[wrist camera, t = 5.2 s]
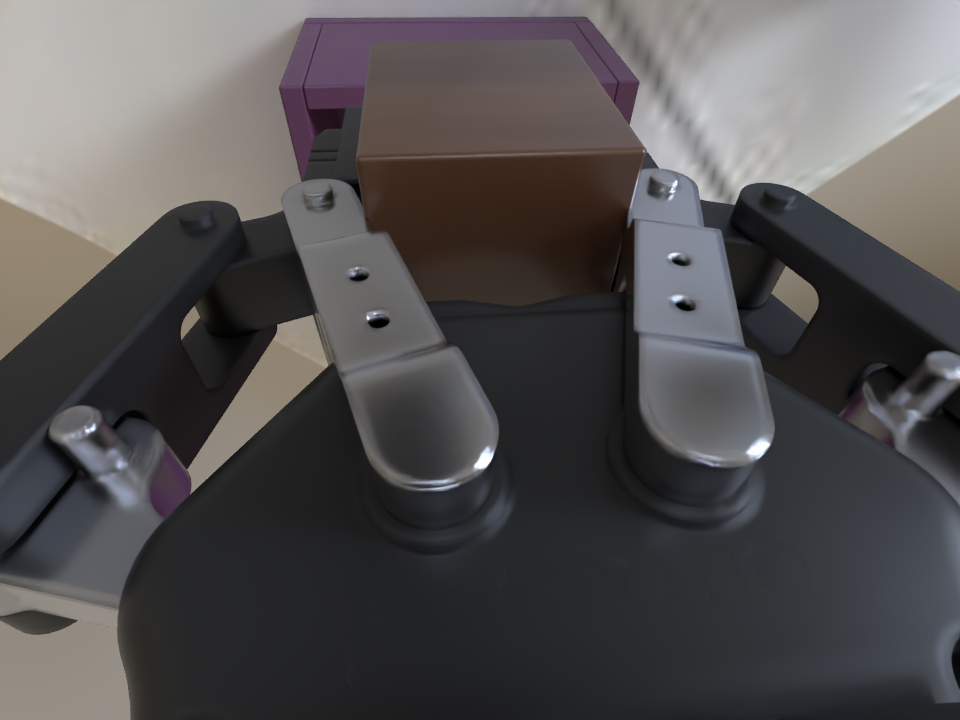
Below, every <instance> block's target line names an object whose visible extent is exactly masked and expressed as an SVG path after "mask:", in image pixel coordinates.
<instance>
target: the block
mask: <svg viewBox="0 0 960 720" xmlns="http://www.w3.org/2000/svg"><path fill="white" fill-rule="evenodd" d="M645 154H646V151H645V147H644V146H643V144H642V143H641V142H640V140H639V139H638V137H637V136H636V134H635V133H634V131H633V130H632V129H631V127H630V126H629V124H628V123H627V121H626V120H625V118H624V117H623V116H622V114H621V113H620V111H619V110H618V108H617V107H616V105H615V104H614V103H613V101H612V100H611V98H610V97H609V95H608V94H607V92H606V91H605V90H604V88H603V87H602V85H601V84H600V82H599V81H598V79H597V78H596V77H595V75H594V74H593V72H592V71H591V69H590V68H589V66H588V65H587V64H586V62H585V61H584V59H583V58H582V56H581V55H580V53H579V52H578V51H577V49H576V48H575V46H574V45H573V43H572V42H571V41H570V40H495V41H402V42H373V43H371V45H370V52H369V59H368V67H367V75H366V83H365V91H364V99H363V107H362V114H361V122H360V130H359V138H358V146H357V154H356V166H357V173H358V179H359V185H360V192H361V198H362V204H363V211H364V216H365V217H366V218H369V220H370V222H371V224H372V226H373V228H374V229H375V230H377V229H382V228H385V229H386V230H387V232H388V234H389V235H390V237H391V239H392V241H393V243H394V245H395V247H396V248H397V250H398V252H399V254H400V256H401V258H402V259H403V261H404V263H405V265H406V267H407V269H408V270H409V272H410V274H411V276H412V278H413V280H414V281H415V283H416V285H417V287H418V289H419V291H420V293H421V294H422V296H423V298H424V300H425V302H428V301H448V300H467V301H475V302H484V303H492V304H500V305H509V306H525V305H529V304H533V303H538V302H542V301H546V300H550V299H554V298H558V297H563V296H567V295H571V294H585V293H605V292H611V288H612V284H613V280H614V276H615V272H616V269H617V265H618V261H619V257H620V253H621V246H622V230H623V226H624V222H625V218H626V214H627V210H628V209H630V208H632V205H633V201H634V197H635V193H636V189H637V185H638V181H639V177H640V174H641V170H642V166H643V162H644V158H645Z"/></svg>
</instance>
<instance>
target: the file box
mask: <svg viewBox="0 0 960 720" xmlns="http://www.w3.org/2000/svg"><path fill="white" fill-rule="evenodd" d="M495 40H570V41H571V42H572V43H573V45H574V46H575V48H576V49H577V51H578V52H579V53H580V55H581V56H582V58H583V59H584V61H585V62H586V64H587V65H588V66H589V68H590V69H591V71H592V72H593V74H594V75H595V77H596V78H597V79H598V81H599V82H600V84H601V85H602V87H603V88H604V90H605V91H606V92H607V94H608V95H609V97H610V98H611V100H612V101H613V103H614V104H615V105H616V107H617V108H618V110H619V111H620V113H621V114H622V116H623V117H624V118H625V120H626V121H627V123H628V124H629V125H630V121H631V117H632V112H633V108H634V104H635V99H636V95H637V90H638V86H639V80H638V79H637V78H636V77H635V75H634V74H633V73H632V72H631V70H630V69H629V68H628V67H627V65H626V64H625V63H624V62H623V60H622V59H621V58H620V57H619V56H618V54H617V53H616V52H615V51H614V49H613V48H612V47H611V46H610V44H609V43H608V42H607V41H606V39H605V38H604V37H603V36H602V35H601V33H600V32H599V31H598V30H597V28H596V27H595V26H594V25H593V23H592V22H591V21H590V20H589V19H588V18H587V17H471V18H307V19H305V22H304V25H303V27H302V30H301V32H300V35H299V37H298V40H297V42H296V45H295V48H294V50H293V53H292V55H291V58H290V60H289V63H288V66H287V68H286V71H285V73H284V76H283V78H282V81H281V84H280V86H279V90H280V94H281V99H282V103H283V107H284V111H285V115H286V119H287V123H288V128H289V132H290V136H291V140H292V144H293V148H294V152H295V157H296V161H297V165H298V169H299V173H300V177H301V181H302V182H303V179H304V175H305V172H306V168H307V164H308V162H309V156H310V153H311V148H312V144H313V140H314V139H315V138H316V137H317V136H318V135H319V134H320V133H322V132H323V131H324V130H325V129H342V126H343V121H344V115H345V109H346V107H353V106H363V99H364V91H365V83H366V75H367V67H368V59H369V52H370V45H371V43H373V42H402V41H495Z"/></svg>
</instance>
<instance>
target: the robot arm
mask: <svg viewBox="0 0 960 720" xmlns="http://www.w3.org/2000/svg"><path fill="white" fill-rule="evenodd" d="M362 107H363V106H353V107H346V109H345V115H344V121H343V126H342V129H325V130H324V131H323V132H322V133H320V134H319V135H318V136H317V137H316V138H315V139H314V140H313V144H312V148H311V153H310V156H309V162H308V164H307V168H306V172H305V175H304V179H303V182H301V183H298V184H296V185H294V186H292V187H290V188H289V189H288V190H286V191H285V192H284V194H283V195H282V198H281V203H282V207H283V211H281V212H279V213H276V214H273V215H270V216H267V217H262V218H258V219H253V220H249V221H244V222H241V220H240V217H239V214H238V211H237V210H236V208H235V207H233V206H232V205H230V204H228V203H225V202H220V201H198V202H193V203H189V204H185V205H182V206H179V207H177V208H175V209H172V210H171V211H169V212H167V213H166V214H165V215H163V216H162V217H161V218H160V219H159V220H158V221H156V222H155V223H154V224H153V225H152V226H151V227H150V228H149V229H147V230H146V231H145V232H144V233H143V234H142V235H141V236H140V237H138V238H137V239H136V240H135V241H134V242H133V243H132V244H131V245H130V246H128V247H127V248H126V249H125V250H124V251H123V252H122V253H121V254H119V255H118V256H117V257H116V258H115V259H114V260H113V261H112V262H111V263H109V264H108V265H107V266H106V267H105V268H104V269H103V270H101V271H100V273H98V274H97V275H96V276H95V277H94V278H93V279H91V280H90V281H89V282H88V283H87V284H86V285H85V286H84V287H82V288H81V289H80V290H79V291H78V292H77V293H76V294H75V295H73V297H71V298H70V299H69V300H68V301H67V302H66V303H64V304H63V305H62V306H61V307H60V308H59V309H58V310H57V311H56V312H54V313H53V314H52V315H51V316H50V317H49V318H48V319H47V320H45V321H44V322H43V323H42V324H41V325H40V326H39V327H38V328H36V329H35V331H33V332H32V333H31V334H30V335H29V336H27V337H26V338H25V339H24V340H23V341H22V342H21V343H20V344H18V345H17V346H16V347H15V348H14V349H13V350H12V351H11V352H10V353H8V354H7V355H6V356H5V357H4V358H3V359H2V360H1V361H0V621H3V622H4V623H6V624H8V625H10V626H12V627H14V628H16V629H18V630H20V631H22V632H24V633H28V634H35V635H40V634H47V633H51V632H55V631H58V630H61V629H63V628H65V627H67V626H69V625H71V624H73V623H75V622H76V621H78V620H79V621H84V622H89V623H93V624H97V625H102V626H106V627H110V628H115V629H117V634H118V635H117V636H118V645H119V650H120V655H121V659H122V662H123V666H124V670H125V673H126V678H127V683H128V690H129V698H130V711H131V712H130V713H131V720H960V292H959V291H957V290H956V289H954V288H953V287H951V286H950V285H948V284H946V283H945V282H943V281H942V280H940V279H938V278H937V277H935V276H934V275H932V274H931V273H929V272H927V271H926V270H924V269H922V268H921V267H919V266H918V265H916V264H915V263H913V262H911V261H910V260H908V259H906V258H905V257H903V256H902V255H900V254H899V253H897V252H895V251H894V250H892V249H891V248H889V247H887V246H886V245H884V244H882V243H881V242H879V241H878V240H876V239H875V238H873V237H872V236H870V235H868V234H867V233H865V232H863V231H862V230H860V229H859V228H857V227H855V226H854V225H852V224H851V223H849V222H848V221H846V220H844V219H843V218H841V217H839V216H838V215H836V214H835V213H833V212H832V211H830V210H828V209H827V208H825V207H824V206H822V205H820V204H819V203H817V202H815V201H814V200H812V199H811V198H809V197H808V196H806V195H805V194H803V193H801V192H799V191H797V190H795V189H792V188H790V187H786V186H783V185H778V184H772V183H755V184H750V185H747V186H745V187H744V188H743V189H742V190H741V192H740V194H739V197H738V199H737V202H736V204H735V205H731V204H724V203H717V202H710V201H704V200H700V197H699V191H698V187H697V185H696V183H695V182H694V181H693V180H691V179H690V178H689V177H687V176H685V175H683V174H680V173H678V172H675V171H671V170H666V169H659V168H658V166H657V165H656V163H655V162H654V160H653V159H652V158H651V156H650V155H649V153H646V154H645V158H644V162H643V166H642V170H641V174H640V177H639V181H638V185H637V189H636V193H635V197H634V201H633V205H632V208H630V209H628V210H627V214H626V218H625V222H624V226H623V230H622V246H621V253H620V257H619V261H618V265H617V269H616V272H615V276H614V280H613V284H612V288H611V292H605V293H585V294H571V295H567V296H563V297H558V298H554V299H550V300H546V301H542V302H538V303H533V304H529V305H525V306H509V305H500V304H492V303H484V302H475V301H467V300H448V301H428V302H425V300H424V298H423V296H422V294H421V293H420V291H419V289H418V287H417V285H416V283H415V281H414V280H413V278H412V276H411V274H410V272H409V270H408V269H407V267H406V265H405V263H404V261H403V259H402V258H401V256H400V254H399V252H398V250H397V248H396V247H395V245H394V243H393V241H392V239H391V237H390V235H389V234H388V232H387V230H386V229H385V228H382V229H377V230H375V229H374V228H373V226H372V224H371V222H370V220H369V218H366V217H365V216H364V211H363V204H362V198H361V192H360V185H359V179H358V173H357V166H356V154H357V146H358V138H359V130H360V122H361V114H362ZM645 151H647V150H646V149H645ZM785 266H787V267H789V268H790V269H791V270H793V271H794V272H795V273H797V274H798V275H799V276H801V277H802V278H803V279H804V280H806V281H807V282H808V283H810V284H811V285H812V286H813V287H814V288H815V290H816V292H817V294H818V298H819V305H818V309H817V311H816V313H815V314H814V316H813V317H812V319H811V321H810V322H809V324H808V323H806V322H805V321H804V320H803V319H802V318H800V317H799V316H798V315H797V314H795V313H794V312H793V311H792V310H791V309H789V308H788V307H787V306H786V305H785V304H783V303H782V302H781V301H780V300H779V299H777V298H776V297H775V296H774V295H772V294H771V292H772V291H773V288H774V287H775V285H776V283H777V281H778V279H779V277H780V276H781V274H782V272H783V270H784V268H785ZM194 306H195V307H196V309H197V311H198V313H199V316H200V319H199V320H198V321H197V322H196V324H195V325H194V326H193V327H192V328H191V329H190V331H189V332H188V333H187V334H186V335H185V337H184V338H183V339H182V340H181V326H182V322H183V320H184V318H185V316H186V315H187V314H188V313H189V311H190V310H191V309H192V308H193V307H194ZM310 315H313V317H314V321H315V324H316V327H317V330H318V333H319V337H320V340H321V343H322V346H323V349H324V352H325V356H326V359H327V362H328V365H329V366H328V367H327V368H326V369H325V370H324V371H322V372H321V373H320V374H319V376H317V377H316V378H315V379H314V380H313V381H312V382H311V383H310V384H309V385H307V386H306V387H305V388H304V389H303V390H302V391H301V392H300V393H299V394H298V395H297V396H296V397H295V398H294V399H293V400H292V401H290V402H289V403H288V404H287V405H286V406H285V407H284V408H283V409H282V410H281V411H280V412H279V413H278V414H276V415H275V416H274V417H273V418H272V419H271V420H270V421H269V422H268V423H267V424H266V425H265V426H264V427H262V428H261V429H260V430H259V431H258V432H257V433H256V434H255V435H254V436H253V437H252V438H251V439H250V440H248V441H247V442H246V443H245V444H244V445H243V446H242V447H241V448H240V449H239V450H238V451H237V452H236V453H235V454H233V455H232V456H231V457H230V458H229V459H228V460H227V461H226V462H225V463H224V464H223V465H222V466H221V467H219V468H218V469H217V470H216V471H215V472H214V473H213V474H212V475H211V476H210V477H209V478H208V479H207V480H206V481H205V482H204V483H202V484H201V485H200V486H199V487H198V488H197V489H196V490H195V491H194V492H193V493H192V494H190V492H191V477H190V475H189V472H188V471H187V469H188V467H189V466H190V464H191V463H192V461H193V460H194V458H195V457H196V455H197V454H198V452H199V451H200V449H201V448H202V446H203V444H204V443H205V442H206V440H207V439H208V437H209V435H210V434H211V432H212V431H213V429H214V428H215V426H216V425H217V423H218V422H219V420H220V419H221V417H222V416H223V414H224V413H225V411H226V409H227V408H228V407H229V405H230V404H231V402H232V400H233V399H234V397H235V396H236V394H237V393H238V391H239V390H240V388H241V387H242V385H243V384H244V382H245V381H246V379H247V378H248V376H249V375H250V373H251V372H252V370H253V369H254V367H255V366H256V364H257V362H258V361H259V359H260V358H261V356H262V355H263V353H264V352H265V350H266V349H267V347H268V346H269V344H270V343H271V341H272V340H273V338H274V337H275V335H276V332H277V324H281V323H284V322H288V321H292V320H295V319H299V318H302V317H306V316H310Z"/></svg>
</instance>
